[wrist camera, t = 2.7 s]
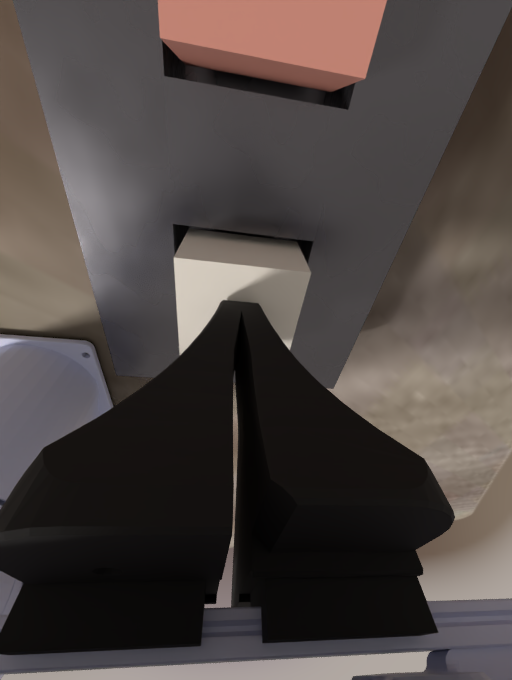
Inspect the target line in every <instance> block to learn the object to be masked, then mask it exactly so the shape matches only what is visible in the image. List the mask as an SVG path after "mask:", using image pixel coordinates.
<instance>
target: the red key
mask: <svg viewBox="0 0 512 680" xmlns="http://www.w3.org/2000/svg"><path fill="white" fill-rule="evenodd" d="M386 2H387V0H158V13H159V30H160V38H161V39H162V41H163V42H164V43H165V44H166V45H167V46H168V47H169V48H170V49H171V50H172V51H173V52H174V53H175V54H176V55H177V56H178V58H179V59H180V60H181V61H182V62H183V63H184V64H185V65H190V66H195V67H200V68H206V69H211V70H216V71H222V72H227V73H232V74H237V75H243V76H248V77H253V78H258V79H264V80H269V81H274V82H279V83H285V84H290V85H295V86H300V87H306V88H311V89H316V90H321V91H327V92H332V91H335V90H338V89H340V88H343V87H345V86H348V85H350V84H353V83H356V82H358V81H361V80H363V79H365V78H366V74H367V71H368V67H369V63H370V60H371V56H372V53H373V49H374V45H375V42H376V38H377V35H378V31H379V27H380V24H381V20H382V17H383V13H384V9H385V6H386Z"/></svg>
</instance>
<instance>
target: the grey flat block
mask: <svg viewBox="0 0 512 680" xmlns="http://www.w3.org/2000/svg"><path fill="white" fill-rule="evenodd" d="M13 3H14V7H15V10H16V14H17V17H18V21H19V25H20V28H21V32H22V35H23V39H24V43H25V46H26V50H27V54H28V57H29V61H30V64H31V68H32V72H33V75H34V79H35V83H36V86H37V90H38V93H39V97H40V101H41V104H42V108H43V111H44V115H45V119H46V122H47V126H48V130H49V133H50V137H51V140H52V144H53V148H54V151H55V155H56V158H57V162H58V166H59V169H60V173H61V177H62V180H63V184H64V187H65V191H66V195H67V198H68V202H69V205H70V209H71V213H72V216H73V220H74V224H75V227H76V231H77V234H78V238H79V242H80V245H81V249H82V253H83V256H84V260H85V263H86V267H87V271H88V274H89V278H90V281H91V285H92V289H93V292H94V296H95V300H96V303H97V307H98V310H99V314H100V318H101V321H102V325H103V328H104V332H105V336H106V339H107V343H108V347H109V350H110V354H111V357H112V361H113V365H114V368H115V372H116V375H119V376H135V377H151V378H155V377H156V376H157V375H158V374H160V373H161V372H162V371H163V370H164V369H166V368H167V367H168V366H169V365H170V364H171V363H172V362H173V361H175V360H176V359H177V358H178V357H179V356H180V353H179V337H178V321H177V305H176V289H175V272H174V256H175V254H176V252H177V250H178V248H179V246H180V244H181V243H182V241H183V239H184V237H185V235H186V233H187V231H188V229H198V230H206V231H214V232H222V233H230V234H238V235H246V236H254V237H262V238H271V239H279V240H287V241H295V242H297V243H298V245H299V247H300V249H301V252H302V254H303V256H304V258H305V260H306V262H307V265H308V267H309V269H310V271H311V276H310V279H309V283H308V286H307V290H306V294H305V297H304V301H303V304H302V308H301V312H300V315H299V319H298V322H297V326H296V330H295V333H294V337H293V340H292V344H291V348H290V351H291V353H292V354H293V355H294V356H295V358H296V359H297V360H298V361H299V362H300V363H301V364H302V365H303V366H304V367H305V369H306V370H307V371H308V372H309V373H310V374H311V375H312V376H313V377H314V378H315V379H316V380H317V381H319V382H320V383H321V384H322V385H323V386H324V387H325V388H331V389H333V388H334V386H335V384H336V382H337V380H338V378H339V376H340V374H341V371H342V369H343V367H344V365H345V363H346V361H347V359H348V356H349V354H350V352H351V350H352V348H353V346H354V344H355V341H356V339H357V337H358V335H359V333H360V331H361V329H362V326H363V324H364V322H365V320H366V318H367V316H368V314H369V312H370V309H371V307H372V305H373V303H374V301H375V299H376V297H377V294H378V292H379V290H380V288H381V286H382V284H383V282H384V279H385V277H386V275H387V273H388V271H389V269H390V267H391V264H392V262H393V260H394V258H395V256H396V254H397V252H398V250H399V247H400V245H401V243H402V241H403V239H404V237H405V235H406V232H407V230H408V228H409V226H410V224H411V222H412V220H413V217H414V215H415V213H416V211H417V209H418V207H419V205H420V202H421V200H422V198H423V196H424V194H425V192H426V190H427V188H428V185H429V183H430V181H431V179H432V177H433V175H434V173H435V170H436V168H437V166H438V164H439V162H440V160H441V158H442V155H443V153H444V151H445V149H446V147H447V145H448V143H449V140H450V138H451V136H452V134H453V132H454V130H455V128H456V125H457V123H458V121H459V119H460V117H461V115H462V113H463V111H464V108H465V106H466V104H467V102H468V100H469V98H470V96H471V93H472V91H473V89H474V87H475V85H476V83H477V81H478V78H479V76H480V74H481V72H482V70H483V68H484V66H485V63H486V61H487V59H488V57H489V55H490V53H491V51H492V49H493V46H494V44H495V42H496V40H497V38H498V36H499V34H500V31H501V29H502V27H503V25H504V23H505V21H506V19H507V16H508V14H509V12H510V10H511V8H512V0H387V2H386V6H385V9H384V13H383V17H382V20H381V24H380V27H379V31H378V35H377V38H376V42H375V45H374V49H373V53H372V56H371V60H370V63H369V67H368V71H367V74H366V78H365V79H363V80H361V81H358V82H356V83H353V84H350V85H348V86H345V87H343V88H340V89H338V90H335V91H332V92H327V91H321V90H316V89H311V88H306V87H300V86H295V85H290V84H285V83H279V82H274V81H269V80H264V79H258V78H253V77H248V76H243V75H237V74H232V73H227V72H222V71H216V70H211V69H206V68H200V67H195V66H190V65H185V64H184V63H183V62H182V61H181V60H180V59H179V58H178V56H177V55H176V54H175V53H174V52H173V51H172V50H171V49H170V48H169V47H168V46H167V45H166V44H165V43H164V42H163V41H162V39H161V38H160V30H159V13H158V0H13ZM233 383H235V371H234V378H233Z"/></svg>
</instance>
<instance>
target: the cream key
mask: <svg viewBox="0 0 512 680" xmlns="http://www.w3.org/2000/svg"><path fill="white" fill-rule="evenodd" d="M174 272H175V289H176V305H177V321H178V337H179V353H180V355H181V354H182V353H183V352H184V351H185V350H186V349H187V348H188V347H189V345H190V344H191V343H192V342H193V341H194V340H195V339H196V337H197V336H198V335H199V334H200V333H201V332H202V330H203V329H204V328H205V326H206V325H207V324H208V322H209V321H210V319H211V318H212V316H213V315H214V313H215V312H216V310H217V308H218V306H219V304H220V302H221V301H223V300H231V301H241V302H251V303H259V305H260V306H261V308H262V310H263V311H264V313H265V315H266V317H267V318H268V320H269V322H270V323H271V325H272V326H273V328H274V329H275V331H276V332H277V334H278V335H279V337H280V338H281V340H282V341H283V342H284V344H285V345H286V346H287V348H288V349H289V350H290V348H291V344H292V340H293V337H294V333H295V330H296V326H297V322H298V319H299V315H300V312H301V308H302V304H303V301H304V297H305V294H306V290H307V286H308V283H309V279H310V276H311V271H310V269H309V267H308V265H307V262H306V260H305V258H304V256H303V254H302V252H301V249H300V247H299V245H298V243H297V242H295V241H287V240H279V239H271V238H262V237H254V236H246V235H238V234H230V233H222V232H214V231H206V230H198V229H188V231H187V233H186V235H185V237H184V239H183V241H182V243H181V244H180V246H179V248H178V250H177V252H176V254H175V256H174Z"/></svg>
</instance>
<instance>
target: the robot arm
mask: <svg viewBox="0 0 512 680" xmlns="http://www.w3.org/2000/svg"><path fill="white" fill-rule="evenodd" d="M87 353H88V354H87ZM234 371H235V383H236V400H237V415H238V460H237V487H236V511H235V535H234V557H233V576H232V577H233V578H232V600H231V608H204V604H216V598H217V591H218V586H219V581H220V580H221V579H222V575H223V571H224V567H225V562H226V558H227V554H228V550H229V545H230V541H231V537H232V525H233V488H234V483H233V378H234ZM454 518H455V516H454V512H453V510H452V508H451V506H450V504H449V502H448V500H447V498H446V497H445V495H444V493H443V491H442V489H441V487H440V485H439V484H438V482H437V480H436V478H435V476H434V475H433V473H432V471H431V469H430V468H429V466H428V464H427V463H426V461H425V459H424V458H422V457H421V456H419V455H417V454H416V453H414V452H413V451H411V450H410V449H408V448H407V447H405V446H403V445H402V444H400V443H399V442H397V441H396V440H394V439H393V438H391V437H390V436H388V435H386V434H385V433H383V432H382V431H380V430H379V429H377V428H376V427H375V426H373V425H372V424H370V423H369V422H368V421H366V420H365V419H364V418H362V417H361V416H360V415H358V414H357V413H355V412H354V411H353V410H352V409H350V408H349V407H348V406H346V405H345V404H344V403H343V402H341V401H340V400H339V399H338V398H337V397H336V396H334V395H333V394H332V393H331V392H330V391H329V390H327V389H326V388H325V387H324V386H323V385H322V384H321V383H320V382H319V381H317V380H316V379H315V378H314V377H313V376H312V375H311V374H310V373H309V372H308V371H307V370H306V369H305V367H304V366H303V365H302V364H301V363H300V362H299V361H298V360H297V359H296V358H295V356H294V355H293V354H292V353H291V351H290V350H289V349H288V348H287V346H286V345H285V344H284V342H283V341H282V340H281V338H280V337H279V335H278V334H277V332H276V331H275V329H274V328H273V326H272V325H271V323H270V322H269V320H268V318H267V317H266V315H265V313H264V311H263V310H262V308H261V306H260V305H259V303H251V302H241V301H231V300H223V301H221V302H220V304H219V306H218V308H217V310H216V312H215V313H214V315H213V316H212V318H211V319H210V321H209V322H208V324H207V325H206V326H205V328H204V329H203V330H202V332H201V333H200V334H199V335H198V336H197V337H196V339H195V340H194V341H193V342H192V343H191V344H190V345H189V347H188V348H187V349H186V350H185V351H184V352H183V353H182V354H181V355H180V356H179V357H178V358H177V359H176V360H175V361H173V362H172V363H171V364H170V365H169V366H168V367H167V368H166V369H164V370H163V371H162V372H161V373H160V374H158V375H157V376H156V377H155V378H154V379H152V380H151V381H150V382H149V383H147V384H146V385H145V386H143V387H142V388H141V389H139V390H138V391H136V392H135V393H133V394H132V395H130V396H129V397H128V398H126V399H125V400H123V401H122V402H120V403H119V404H117V405H116V406H114V407H113V404H112V401H111V398H110V394H109V391H108V388H107V385H106V382H105V379H104V376H103V373H102V369H101V366H100V363H99V360H98V357H97V354H96V351H95V348H94V346H93V344H92V343H91V342H88V341H85V340H72V339H58V338H45V337H31V336H18V335H4V334H0V679H1V678H2V677H3V675H4V674H17V673H37V672H55V671H73V670H89V669H90V670H92V669H109V668H129V667H147V666H164V665H184V664H202V663H221V662H239V661H257V660H276V659H293V658H312V657H331V656H348V655H367V654H385V653H404V652H423V651H432V652H430V653H429V655H428V657H427V667H426V670H425V671H424V672H414V673H387V674H375V675H362V676H353V678H352V680H512V599H483V600H452V601H426V598H425V596H424V593H423V591H422V588H421V585H420V583H419V581H418V578H417V576H420V575H422V574H423V568H422V565H421V563H420V560H419V558H418V555H417V553H416V551H415V550H416V549H418V548H419V547H421V546H423V545H425V544H426V543H428V542H430V541H432V540H433V539H435V538H437V537H438V536H440V535H442V534H443V533H444V532H446V531H447V530H448V529H449V528H450V527H451V525H452V523H453V521H454Z"/></svg>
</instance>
